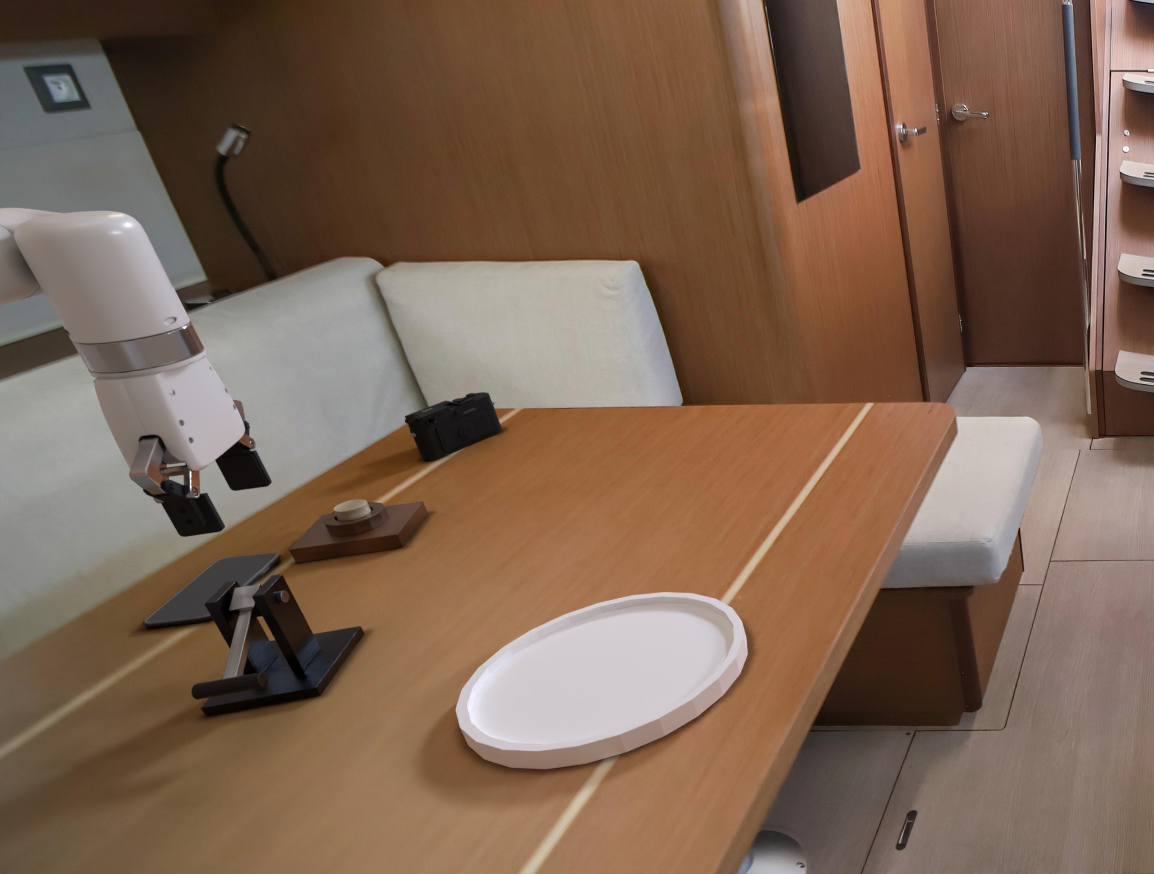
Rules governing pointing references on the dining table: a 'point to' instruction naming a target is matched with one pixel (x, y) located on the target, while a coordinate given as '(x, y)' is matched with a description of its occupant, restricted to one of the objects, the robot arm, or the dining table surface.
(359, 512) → the button
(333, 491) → the dining table surface
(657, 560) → the dining table surface
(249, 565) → the smartphone
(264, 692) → the bracket
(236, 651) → the lever
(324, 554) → the button box
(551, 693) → the plate
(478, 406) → the camera
